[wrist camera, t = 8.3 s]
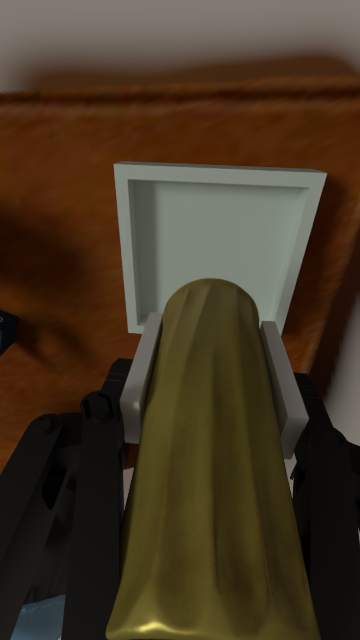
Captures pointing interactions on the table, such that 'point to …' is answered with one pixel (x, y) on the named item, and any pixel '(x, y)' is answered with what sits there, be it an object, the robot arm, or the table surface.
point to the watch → (7, 330)
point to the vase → (211, 488)
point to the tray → (213, 231)
